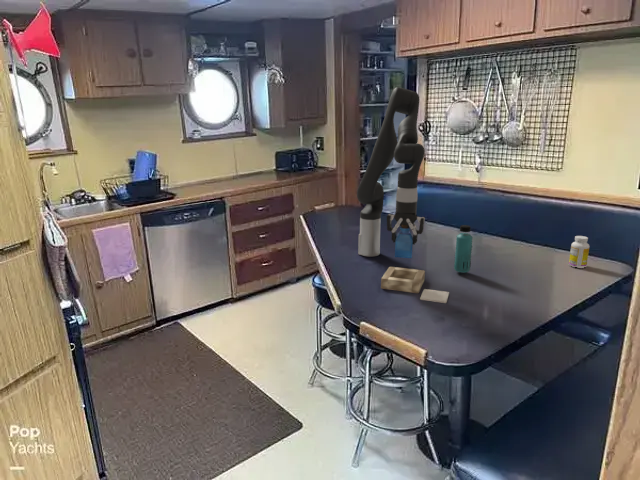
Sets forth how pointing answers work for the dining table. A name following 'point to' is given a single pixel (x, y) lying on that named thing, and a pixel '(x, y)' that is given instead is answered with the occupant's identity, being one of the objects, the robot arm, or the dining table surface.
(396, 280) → the pocket block
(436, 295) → the coaster
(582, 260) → the supplement bottle
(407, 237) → the perfume bottle
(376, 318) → the dining table surface
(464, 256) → the beverage bottle
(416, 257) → the dining table surface
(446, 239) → the dining table surface
